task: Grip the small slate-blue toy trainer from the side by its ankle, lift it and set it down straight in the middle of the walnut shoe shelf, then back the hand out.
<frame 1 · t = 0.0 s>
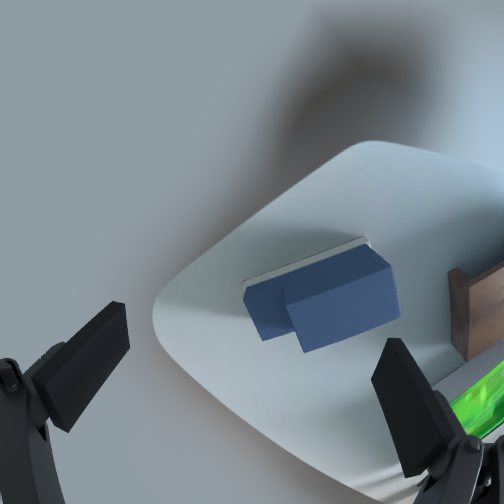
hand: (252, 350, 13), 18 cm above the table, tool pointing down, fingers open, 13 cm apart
shelf: (498, 282, 28), on the table
trainer: (311, 280, 30), on the table
tray: (478, 391, 34), on the table
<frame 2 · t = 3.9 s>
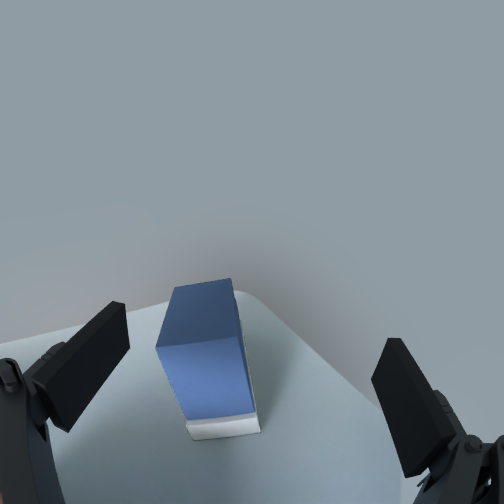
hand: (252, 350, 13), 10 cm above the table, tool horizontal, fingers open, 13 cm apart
trainer: (222, 379, 24), on the table
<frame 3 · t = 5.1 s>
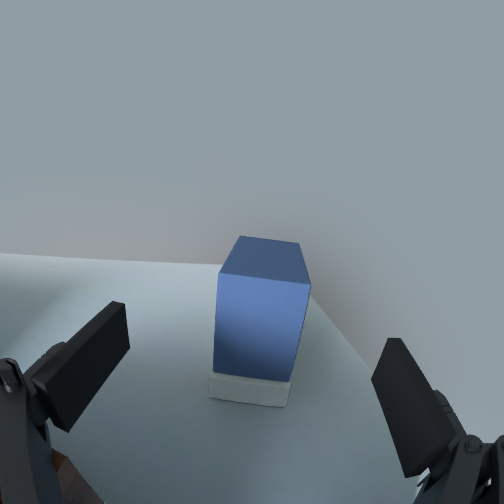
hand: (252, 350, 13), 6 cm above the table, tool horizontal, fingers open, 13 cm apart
trainer: (254, 346, 24), on the table
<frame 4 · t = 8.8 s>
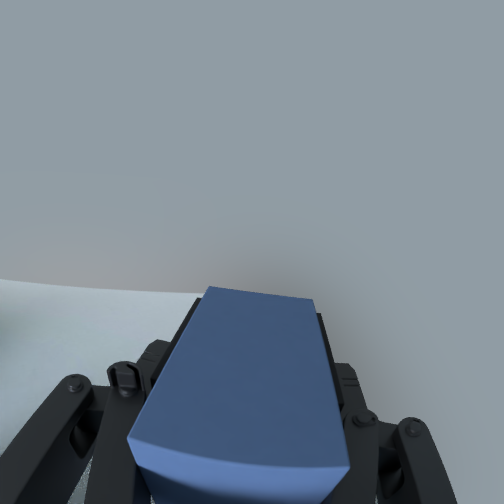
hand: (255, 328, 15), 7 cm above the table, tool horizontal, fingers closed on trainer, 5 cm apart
trainer: (238, 445, 13), on the table, touching gripper
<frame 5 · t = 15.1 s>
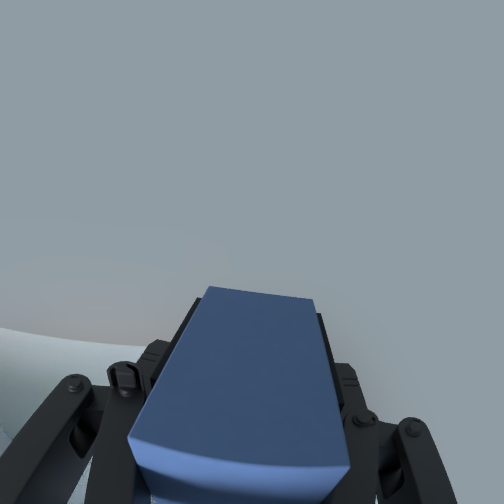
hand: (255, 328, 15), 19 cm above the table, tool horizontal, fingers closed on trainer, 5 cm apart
trainer: (238, 445, 13), point 13 cm above the table, touching gripper
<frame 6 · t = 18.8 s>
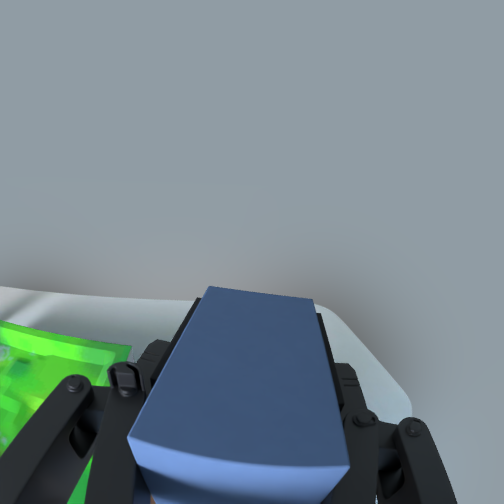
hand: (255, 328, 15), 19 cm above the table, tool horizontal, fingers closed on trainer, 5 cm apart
trainer: (238, 445, 13), point 12 cm above the table, touching gripper
tray: (25, 421, 19), on the table
when the fingers open (11 cm above the table, at t = 21.7 s): trainer stays where it is, resting on shelf.
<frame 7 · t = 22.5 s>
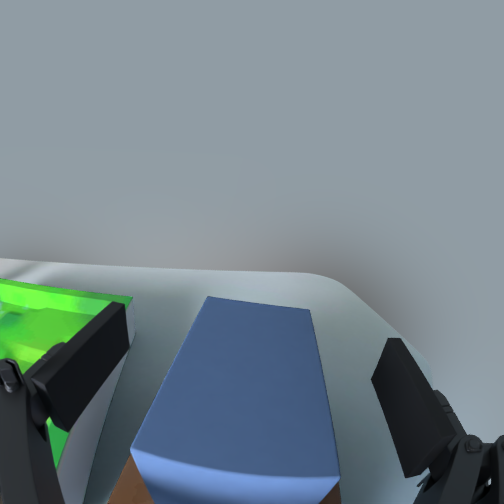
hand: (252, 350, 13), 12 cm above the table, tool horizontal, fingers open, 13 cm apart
shelf: (232, 481, 15), on the table
trainer: (237, 450, 13), point 5 cm above the table, touching shelf
tray: (9, 377, 18), on the table
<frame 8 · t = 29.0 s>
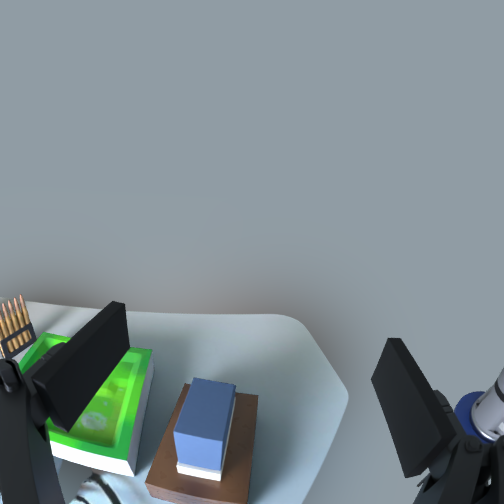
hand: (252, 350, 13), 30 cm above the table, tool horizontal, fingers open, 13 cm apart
ammunition clip: (20, 349, 42), on the table
shelf: (209, 454, 33), on the table
trainer: (209, 436, 31), point 5 cm above the table, touching shelf
tray: (78, 403, 36), on the table
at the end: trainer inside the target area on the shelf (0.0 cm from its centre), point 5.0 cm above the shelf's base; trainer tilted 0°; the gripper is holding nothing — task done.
